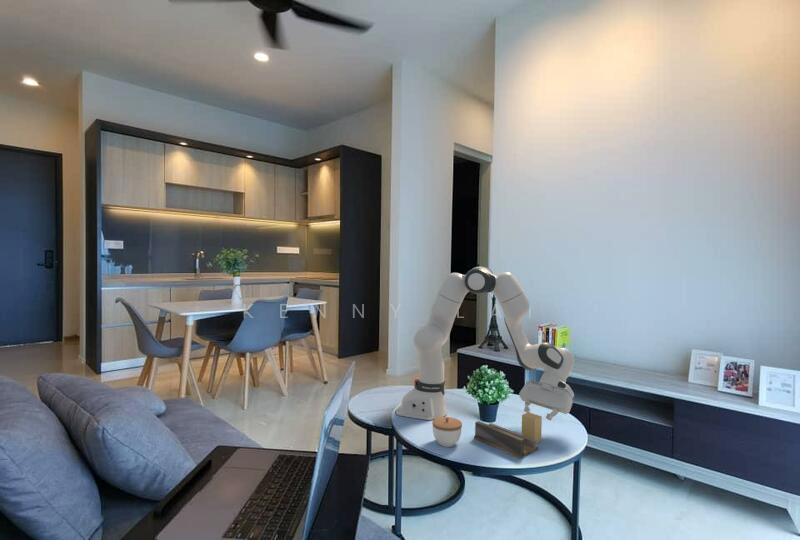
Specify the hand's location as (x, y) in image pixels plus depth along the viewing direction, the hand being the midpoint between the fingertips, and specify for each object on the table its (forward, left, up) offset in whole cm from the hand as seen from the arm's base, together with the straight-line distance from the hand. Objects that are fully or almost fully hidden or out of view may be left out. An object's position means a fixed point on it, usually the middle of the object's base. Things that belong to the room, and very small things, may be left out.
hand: (536, 415), depth 154 cm
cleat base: (-12, -9, -8) cm, 17 cm away
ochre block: (-2, -3, -8) cm, 9 cm away
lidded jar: (-33, -13, -8) cm, 37 cm away
